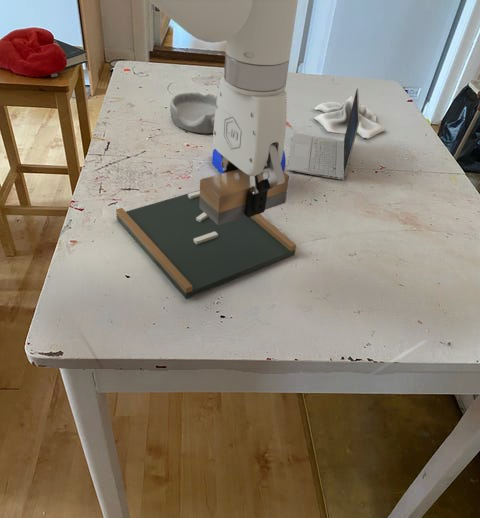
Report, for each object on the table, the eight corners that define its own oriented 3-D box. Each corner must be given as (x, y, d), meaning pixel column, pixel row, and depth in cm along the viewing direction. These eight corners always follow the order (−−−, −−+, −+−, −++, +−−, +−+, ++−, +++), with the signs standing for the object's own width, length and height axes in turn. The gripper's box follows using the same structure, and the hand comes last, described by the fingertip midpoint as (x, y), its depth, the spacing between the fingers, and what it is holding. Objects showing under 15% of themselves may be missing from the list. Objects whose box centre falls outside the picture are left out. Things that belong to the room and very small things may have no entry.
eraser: (218, 225, 65) (219, 197, 62) (199, 207, 68) (199, 179, 65) (285, 203, 71) (289, 175, 67) (265, 187, 73) (268, 160, 70)
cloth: (386, 143, 116) (394, 118, 112) (312, 132, 117) (316, 107, 113) (381, 108, 132) (387, 84, 127) (315, 98, 132) (319, 75, 128)
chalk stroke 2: (196, 244, 80) (196, 241, 80) (193, 241, 81) (193, 238, 80) (218, 236, 82) (218, 234, 82) (214, 233, 83) (215, 231, 82)
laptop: (293, 136, 115) (303, 79, 105) (344, 144, 114) (358, 87, 105) (286, 172, 102) (297, 111, 93) (344, 181, 102) (360, 121, 92)
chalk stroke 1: (200, 222, 85) (200, 219, 84) (195, 220, 85) (196, 217, 84) (216, 210, 88) (217, 207, 87) (212, 208, 88) (212, 205, 87)
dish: (226, 138, 111) (227, 117, 107) (167, 133, 110) (166, 111, 107) (228, 112, 121) (229, 92, 117) (174, 107, 120) (173, 87, 117)
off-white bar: (190, 199, 90) (190, 196, 89) (187, 196, 90) (187, 193, 90) (206, 194, 91) (206, 191, 91) (203, 192, 92) (203, 189, 91)
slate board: (185, 299, 72) (185, 288, 71) (116, 219, 85) (115, 209, 83) (294, 254, 82) (296, 244, 81) (218, 189, 95) (218, 179, 93)
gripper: (191, 52, 59) (190, 183, 72) (275, 103, 50) (257, 242, 63) (240, 45, 62) (231, 171, 75) (327, 92, 53) (299, 226, 66)
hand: (243, 202), depth 69 cm, fingers closed on eraser, 5 cm apart
